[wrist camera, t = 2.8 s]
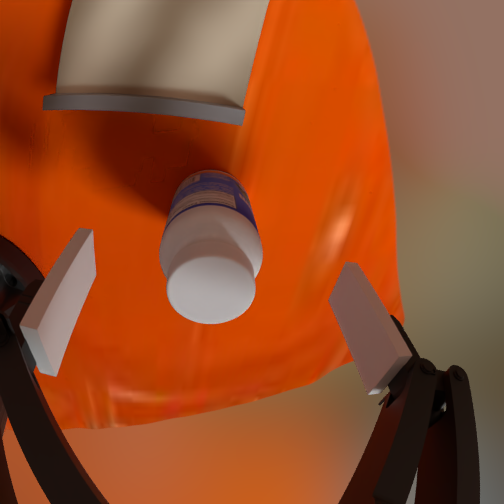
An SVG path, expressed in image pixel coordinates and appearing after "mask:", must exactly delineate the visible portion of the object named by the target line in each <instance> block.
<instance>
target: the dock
mask: <svg viewBox="0 0 504 504" xmlns="http://www.w3.org/2000/svg"><path fill="white" fill-rule="evenodd" d="M268 3H269V0H73V1H72V4H71V8H70V12H69V16H68V21H67V25H66V30H65V34H64V40H63V45H62V51H61V57H60V63H59V70H58V78H57V86H56V93H55V94H51V95H46V96H44V99H43V110H105V111H125V112H140V113H152V114H162V115H172V116H180V117H189V118H196V119H203V120H210V121H217V122H223V123H229V124H235V125H241V126H242V124H243V120H244V115H245V110H244V109H243V104H244V99H245V95H246V91H247V86H248V82H249V78H250V74H251V70H252V65H253V61H254V57H255V53H256V49H257V45H258V41H259V37H260V33H261V29H262V26H263V22H264V18H265V14H266V10H267V7H268Z"/></svg>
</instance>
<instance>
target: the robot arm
mask: <svg viewBox="0 0 504 504" xmlns="http://www.w3.org/2000/svg"><path fill="white" fill-rule="evenodd" d="M95 276H96V267H95V256H94V242H93V230H92V229H84V228H79V229H78V230H77V232H76V233H75V234H74V236H73V237H72V239H71V240H70V242H69V243H68V245H67V246H66V248H65V249H64V250H63V252H62V253H61V255H60V257H59V258H58V260H57V261H56V263H55V264H54V266H53V267H52V269H51V271H50V272H49V274H48V275H47V277H46V279H44V277H43V276H42V274H41V273H40V272H39V270H38V269H37V268H36V267H35V265H34V264H33V263H32V262H31V261H30V260H29V259H28V258H27V257H26V256H25V255H24V254H23V253H22V252H21V251H20V250H19V249H18V248H16V247H15V246H14V245H13V244H11V243H10V242H8V241H7V240H5V239H4V238H2V237H0V504H18V502H17V499H16V496H15V492H14V489H13V485H12V481H11V478H10V474H9V470H8V465H7V461H6V456H5V451H4V446H3V440H2V436H3V433H4V429H5V425H6V421H7V418H9V420H10V423H11V426H12V428H13V430H14V433H15V435H16V438H17V440H18V442H19V444H20V446H21V449H22V451H23V453H24V455H25V458H26V460H27V462H28V463H29V466H30V467H31V469H32V471H33V473H34V475H35V477H36V479H37V481H38V483H39V484H40V486H41V488H42V490H43V491H44V493H45V495H46V497H47V498H48V500H49V502H50V503H51V504H109V503H108V502H107V500H106V499H105V498H104V496H103V495H102V494H101V492H100V491H99V490H98V488H97V487H96V485H95V484H94V483H93V481H92V480H91V478H90V477H89V475H88V474H87V473H86V471H85V469H84V468H83V466H82V465H81V463H80V462H79V460H78V458H77V457H76V455H75V453H74V452H73V450H72V448H71V447H70V445H69V443H68V442H67V440H66V438H65V436H64V435H63V433H62V431H61V429H60V427H59V425H58V423H57V422H56V420H55V418H54V416H53V414H52V412H51V410H50V408H49V406H48V403H47V401H46V399H45V397H44V395H43V393H42V390H41V388H40V386H39V384H38V381H37V379H36V376H35V374H34V372H33V371H34V369H35V366H36V365H37V367H38V369H39V371H40V373H44V374H48V375H52V376H55V377H56V376H57V373H58V370H59V367H60V364H61V361H62V358H63V355H64V353H65V350H66V347H67V344H68V342H69V339H70V336H71V334H72V331H73V328H74V326H75V323H76V321H77V318H78V316H79V313H80V311H81V308H82V306H83V304H84V301H85V299H86V297H87V294H88V292H89V290H90V288H91V285H92V283H93V281H94V279H95ZM328 301H329V303H330V305H331V307H332V310H333V312H334V314H335V317H336V319H337V321H338V324H339V326H340V328H341V331H342V333H343V335H344V338H345V340H346V342H347V345H348V347H349V350H350V352H351V354H352V357H353V359H354V362H355V364H356V367H357V369H358V371H359V374H360V376H361V379H362V381H363V384H364V386H365V389H366V392H367V394H368V395H370V394H377V393H381V392H382V391H383V390H384V389H385V388H386V387H387V386H388V387H389V389H390V392H389V393H388V394H387V395H386V396H385V397H384V398H383V399H382V400H381V401H380V403H379V405H381V404H382V403H383V402H384V404H383V407H382V409H381V412H380V415H379V417H378V420H377V422H376V425H375V427H374V430H373V432H372V435H371V437H370V440H369V442H368V444H367V446H366V449H365V451H364V453H363V455H362V458H361V460H360V462H359V464H358V466H357V468H356V471H355V473H354V475H353V477H352V479H351V481H350V483H349V485H348V486H347V489H346V490H345V492H344V494H343V496H342V498H341V500H340V501H339V503H338V504H406V501H407V498H408V495H409V493H410V490H411V486H412V484H413V480H414V478H415V474H416V471H417V468H418V472H417V486H416V495H415V503H414V504H480V472H479V455H478V442H477V432H476V423H475V416H474V409H473V403H472V397H471V391H470V386H469V380H468V377H467V374H466V372H465V371H464V370H463V369H462V368H461V367H459V366H456V365H452V366H450V368H449V369H448V370H447V371H440V370H437V369H436V367H435V366H434V365H433V363H432V362H430V361H429V360H427V359H424V358H420V356H419V355H418V353H417V351H416V349H415V348H414V346H413V344H412V343H411V341H410V339H409V338H408V336H407V334H406V332H405V331H404V329H403V327H402V325H401V324H400V322H399V321H398V320H397V319H396V318H395V317H394V316H393V315H389V313H388V312H387V310H386V308H385V307H384V305H383V303H382V302H381V300H380V298H379V297H378V295H377V294H376V292H375V290H374V289H373V287H372V285H371V284H370V282H369V281H368V279H367V278H366V276H365V274H364V273H363V271H362V270H361V268H360V267H359V265H358V263H352V262H345V265H344V267H343V269H342V271H341V274H340V276H339V278H338V280H337V282H336V285H335V287H334V289H333V291H332V293H331V295H330V298H329V300H328ZM445 405H446V411H445V412H444V409H443V407H444V406H445Z"/></svg>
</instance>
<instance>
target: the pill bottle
mask: <svg viewBox="0 0 504 504" xmlns="http://www.w3.org/2000/svg"><path fill="white" fill-rule="evenodd" d="M262 257H263V252H262V245H261V241H260V237H259V233H258V230H257V226H256V223H255V219H254V215H253V212H252V208H251V205H250V201H249V198H248V195H247V193H246V191H245V189H244V187H243V186H242V184H241V183H240V182H239V181H238V180H237V179H236V178H235V177H233V176H232V175H230V174H228V173H225V172H222V171H218V170H203V171H199V172H196V173H194V174H192V175H190V176H188V177H187V178H186V179H185V180H183V182H182V183H181V184H180V185H179V187H178V188H177V190H176V192H175V195H174V198H173V201H172V205H171V208H170V212H169V215H168V219H167V222H166V226H165V229H164V233H163V236H162V240H161V244H160V250H159V258H160V264H161V268H162V270H163V273H164V275H165V276H166V278H167V285H166V290H167V296H168V299H169V302H170V303H171V305H172V306H173V308H174V309H175V310H176V311H177V312H178V313H179V314H181V315H182V316H183V317H185V318H187V319H189V320H192V321H195V322H199V323H205V324H217V323H223V322H227V321H229V320H232V319H234V318H236V317H238V316H239V315H241V314H242V313H244V312H245V311H246V310H247V309H248V307H249V306H250V304H251V303H252V301H253V299H254V296H255V277H256V276H257V274H258V272H259V270H260V267H261V263H262Z"/></svg>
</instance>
